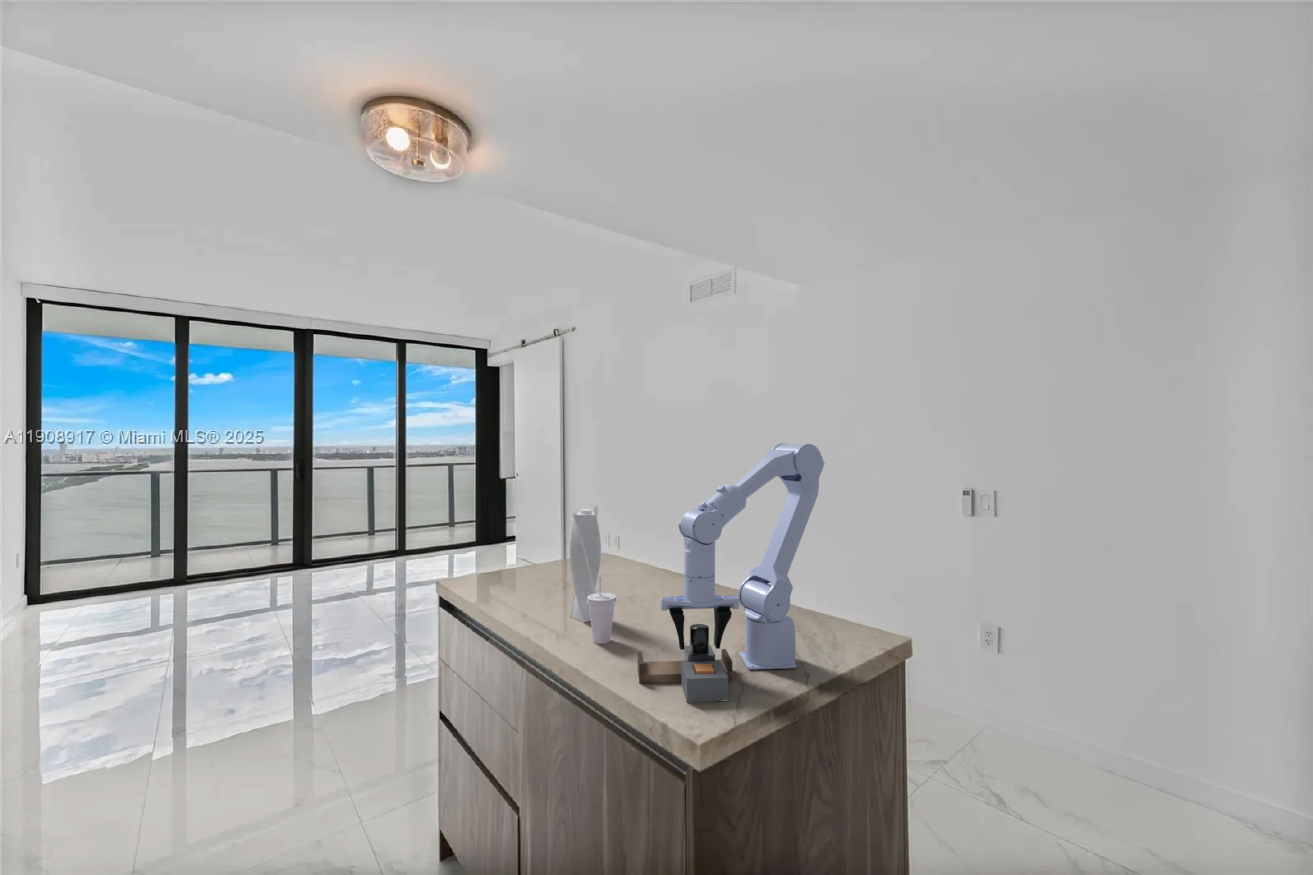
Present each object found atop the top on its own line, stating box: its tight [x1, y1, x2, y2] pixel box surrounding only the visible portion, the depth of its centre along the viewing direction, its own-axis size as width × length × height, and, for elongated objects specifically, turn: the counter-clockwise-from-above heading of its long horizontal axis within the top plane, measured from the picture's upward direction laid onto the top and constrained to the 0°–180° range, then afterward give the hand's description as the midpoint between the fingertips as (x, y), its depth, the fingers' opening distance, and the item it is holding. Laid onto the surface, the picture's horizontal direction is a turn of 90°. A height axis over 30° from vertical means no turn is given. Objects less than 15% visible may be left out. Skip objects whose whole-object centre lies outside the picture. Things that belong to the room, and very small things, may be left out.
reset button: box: [694, 664, 714, 674], centre depth 99 cm, size 3×3×4 cm
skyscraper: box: [569, 503, 602, 623], centre depth 140 cm, size 8×8×28 cm
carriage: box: [683, 623, 716, 662], centre depth 107 cm, size 5×5×7 cm
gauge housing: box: [680, 661, 729, 704], centre depth 99 cm, size 7×7×4 cm
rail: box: [637, 648, 733, 684], centre depth 106 cm, size 17×6×4 cm, turn 95°
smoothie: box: [587, 575, 617, 645], centre depth 124 cm, size 6×6×14 cm
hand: (699, 647), depth 107 cm, fingers open, 6 cm apart
